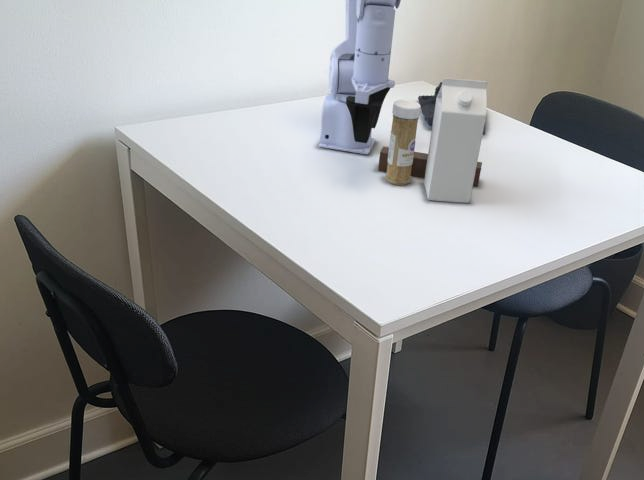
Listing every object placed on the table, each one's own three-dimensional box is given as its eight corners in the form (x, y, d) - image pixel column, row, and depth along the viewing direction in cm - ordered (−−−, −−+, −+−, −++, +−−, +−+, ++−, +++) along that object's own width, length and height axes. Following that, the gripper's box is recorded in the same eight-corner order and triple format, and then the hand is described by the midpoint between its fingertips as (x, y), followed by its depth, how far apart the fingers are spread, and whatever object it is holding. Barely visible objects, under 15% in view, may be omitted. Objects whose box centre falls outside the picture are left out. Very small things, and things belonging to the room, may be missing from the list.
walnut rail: (377, 171, 128) (379, 152, 126) (380, 165, 131) (382, 146, 129) (477, 187, 127) (481, 168, 125) (478, 180, 129) (482, 162, 127)
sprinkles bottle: (406, 187, 124) (417, 109, 116) (381, 182, 125) (390, 104, 116) (413, 178, 127) (424, 101, 119) (388, 173, 128) (397, 96, 120)
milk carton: (423, 183, 126) (440, 71, 114) (463, 186, 126) (483, 75, 115) (427, 201, 120) (445, 84, 109) (469, 204, 121) (491, 88, 109)
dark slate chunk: (413, 130, 147) (416, 107, 145) (417, 98, 165) (420, 77, 162) (487, 139, 147) (491, 116, 144) (483, 107, 165) (488, 86, 162)
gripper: (390, 65, 108) (381, 152, 116) (404, 43, 119) (394, 124, 128) (345, 58, 108) (338, 145, 117) (362, 37, 120) (356, 118, 128)
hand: (365, 134), depth 122 cm, fingers open, 7 cm apart
